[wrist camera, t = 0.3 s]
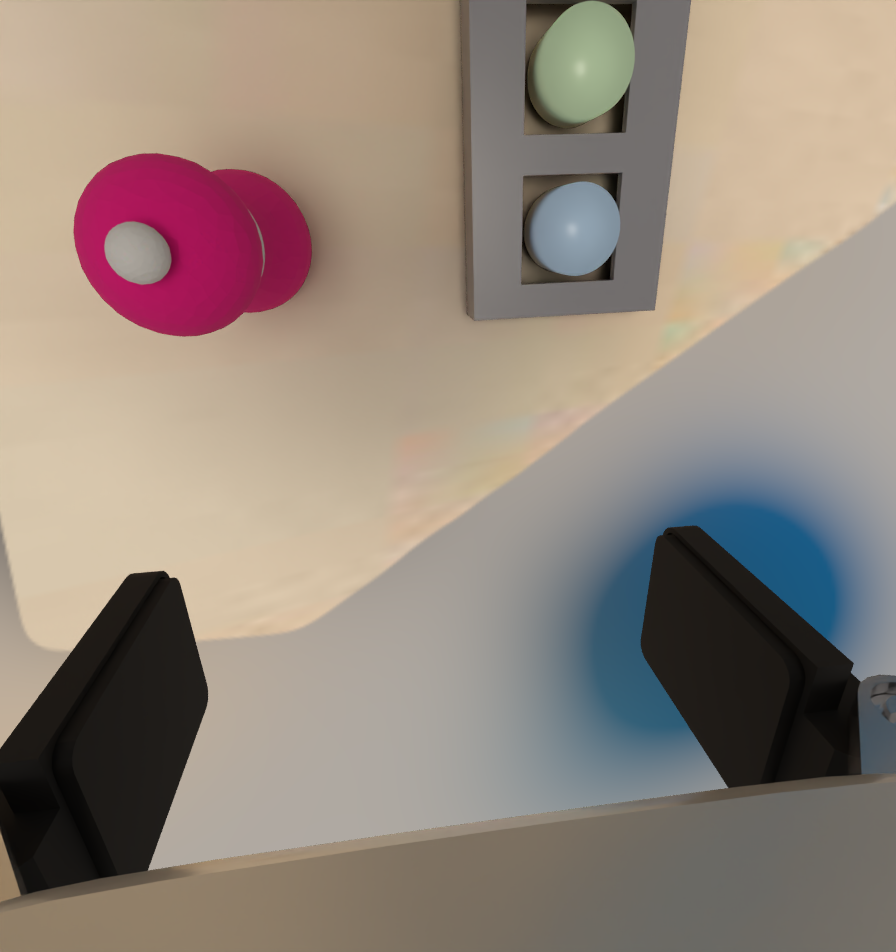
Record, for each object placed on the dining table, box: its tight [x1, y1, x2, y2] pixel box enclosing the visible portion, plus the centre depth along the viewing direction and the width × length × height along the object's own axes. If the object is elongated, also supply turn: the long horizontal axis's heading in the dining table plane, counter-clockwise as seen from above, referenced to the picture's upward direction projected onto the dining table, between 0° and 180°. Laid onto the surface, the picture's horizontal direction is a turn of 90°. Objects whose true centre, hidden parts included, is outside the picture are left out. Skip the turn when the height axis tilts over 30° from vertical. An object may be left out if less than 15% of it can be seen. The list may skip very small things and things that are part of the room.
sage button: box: [527, 1, 635, 128], centre depth 30 cm, size 5×5×3 cm
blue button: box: [524, 182, 620, 276], centre depth 33 cm, size 5×5×3 cm
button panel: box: [460, 0, 691, 321], centre depth 31 cm, size 26×12×3 cm, turn 2°
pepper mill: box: [74, 153, 312, 336], centre depth 25 cm, size 7×7×20 cm
